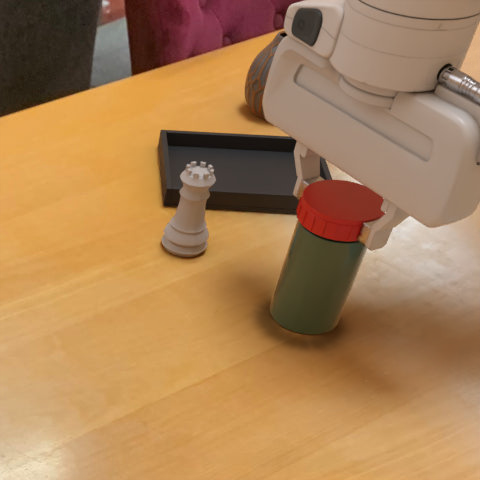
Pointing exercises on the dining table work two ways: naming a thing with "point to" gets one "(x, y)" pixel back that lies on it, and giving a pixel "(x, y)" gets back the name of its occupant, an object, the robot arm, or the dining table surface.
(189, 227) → the rook chess piece
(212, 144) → the tray
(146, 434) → the dining table surface
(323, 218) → the lid
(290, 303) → the jar
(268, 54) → the vase
